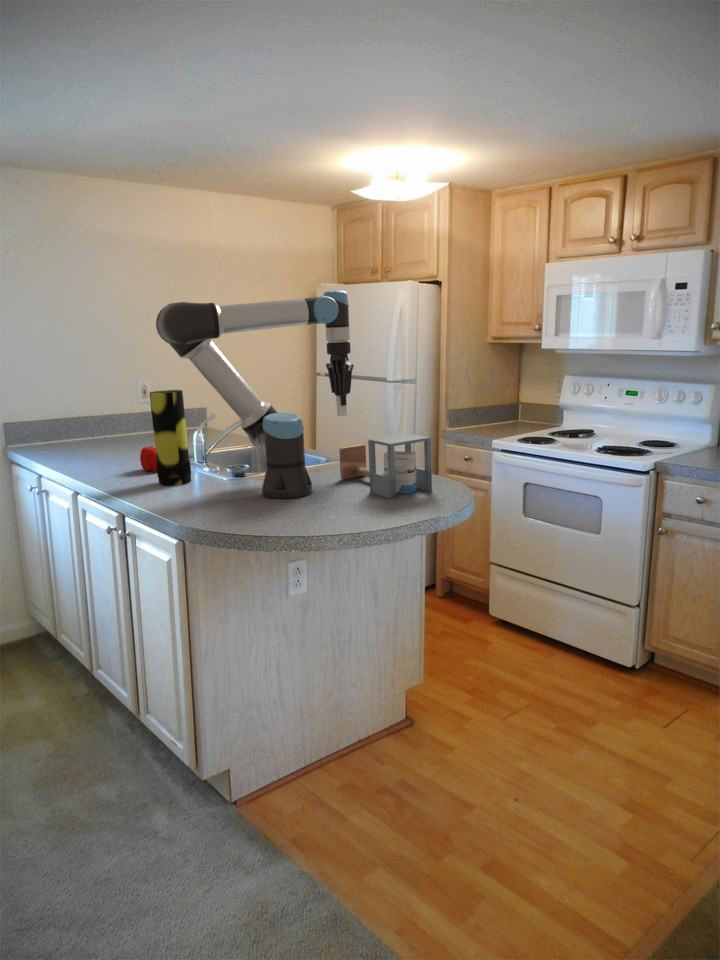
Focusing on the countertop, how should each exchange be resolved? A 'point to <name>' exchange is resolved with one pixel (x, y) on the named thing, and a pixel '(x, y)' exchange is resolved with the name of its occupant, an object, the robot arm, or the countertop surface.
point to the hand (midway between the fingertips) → (342, 415)
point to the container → (170, 437)
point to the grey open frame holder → (387, 483)
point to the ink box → (403, 471)
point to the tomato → (148, 459)
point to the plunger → (353, 462)
